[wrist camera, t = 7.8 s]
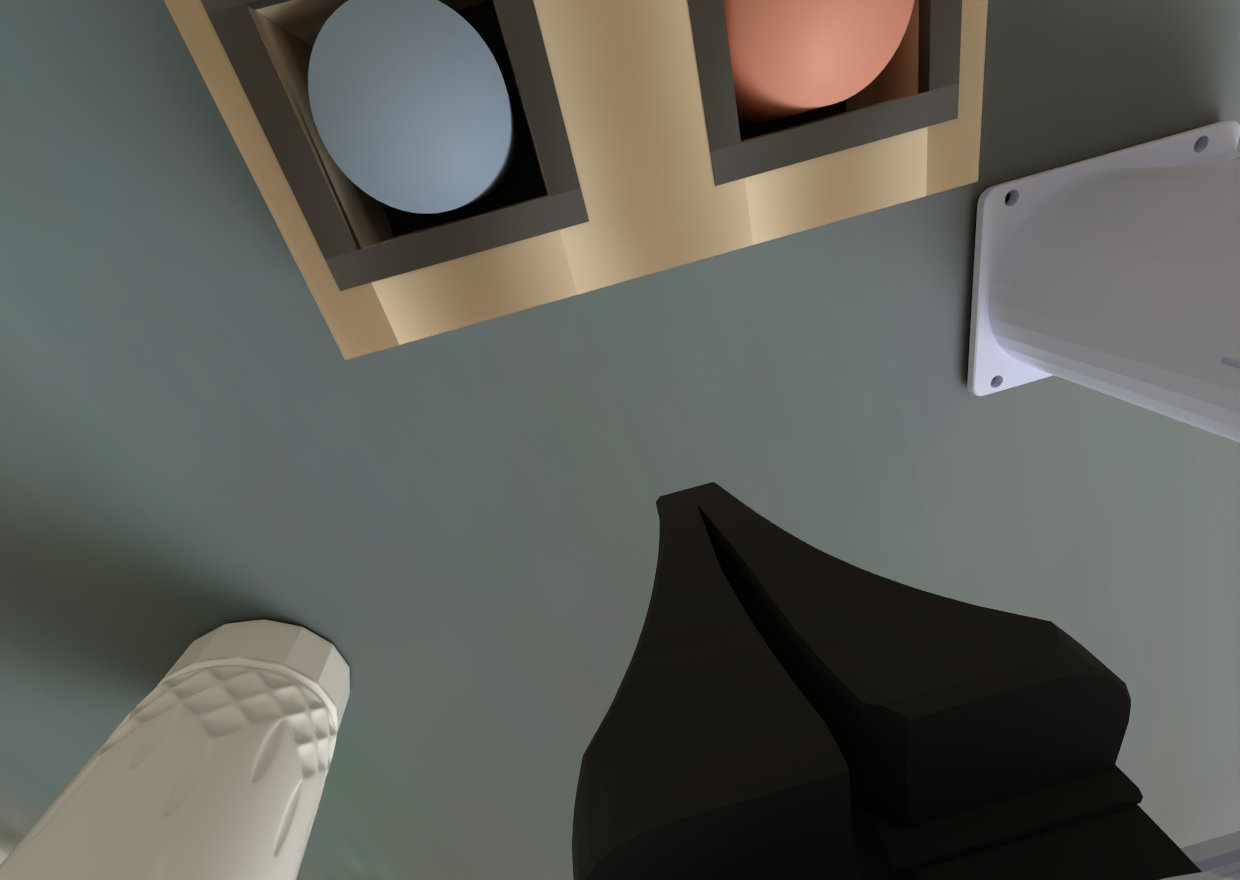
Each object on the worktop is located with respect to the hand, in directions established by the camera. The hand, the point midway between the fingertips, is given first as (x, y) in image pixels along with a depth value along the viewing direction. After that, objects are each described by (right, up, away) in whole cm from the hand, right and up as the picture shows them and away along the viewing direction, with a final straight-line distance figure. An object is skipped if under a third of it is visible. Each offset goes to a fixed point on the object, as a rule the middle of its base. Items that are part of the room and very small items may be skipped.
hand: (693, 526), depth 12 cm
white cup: (-17, -8, +12) cm, 23 cm away
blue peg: (-7, +11, +4) cm, 14 cm away
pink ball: (+3, +14, +4) cm, 15 cm away
